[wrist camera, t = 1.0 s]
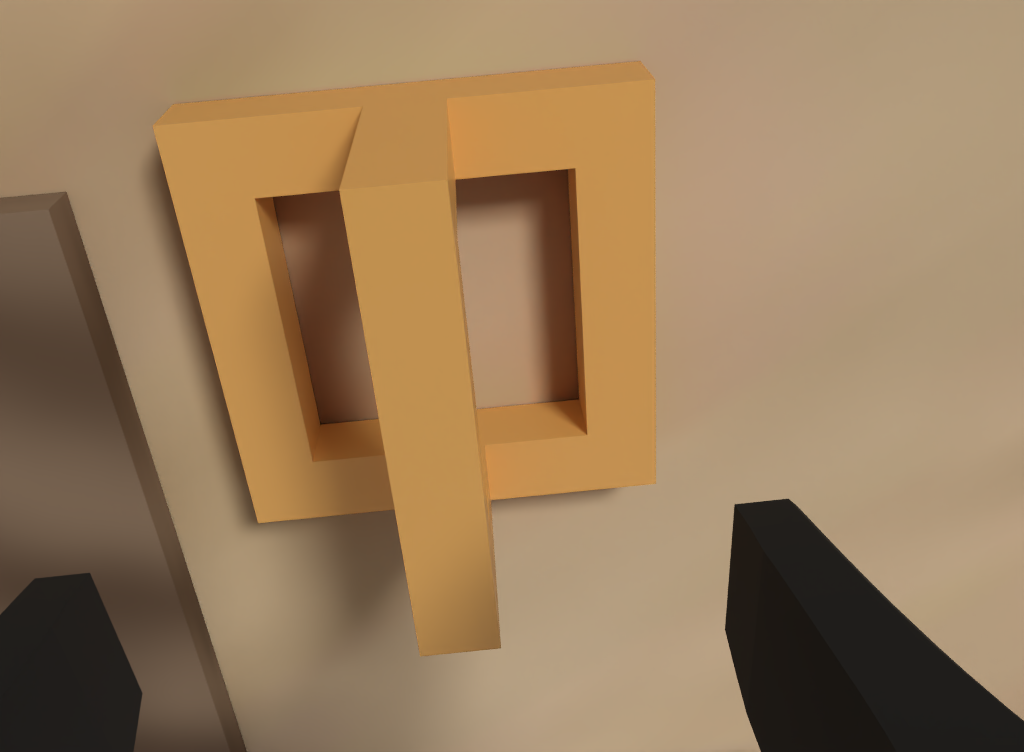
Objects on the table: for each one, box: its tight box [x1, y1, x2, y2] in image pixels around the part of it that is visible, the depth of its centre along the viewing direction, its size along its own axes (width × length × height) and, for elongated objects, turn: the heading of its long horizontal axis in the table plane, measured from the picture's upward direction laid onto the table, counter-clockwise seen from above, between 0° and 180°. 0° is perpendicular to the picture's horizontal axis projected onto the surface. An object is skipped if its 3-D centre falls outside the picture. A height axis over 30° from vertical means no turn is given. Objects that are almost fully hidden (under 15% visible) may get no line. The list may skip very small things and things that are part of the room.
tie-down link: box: [153, 61, 656, 656], centre depth 18 cm, size 9×9×6 cm
